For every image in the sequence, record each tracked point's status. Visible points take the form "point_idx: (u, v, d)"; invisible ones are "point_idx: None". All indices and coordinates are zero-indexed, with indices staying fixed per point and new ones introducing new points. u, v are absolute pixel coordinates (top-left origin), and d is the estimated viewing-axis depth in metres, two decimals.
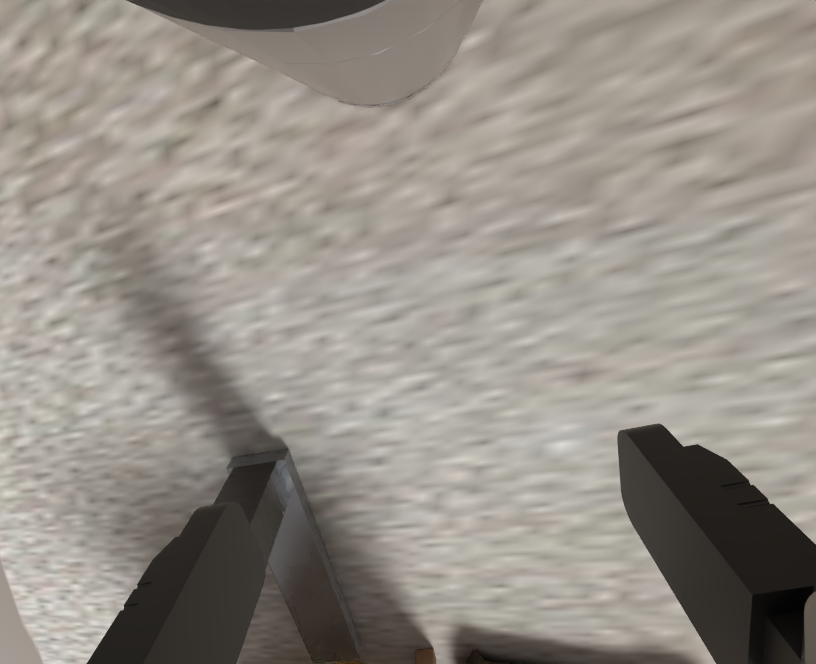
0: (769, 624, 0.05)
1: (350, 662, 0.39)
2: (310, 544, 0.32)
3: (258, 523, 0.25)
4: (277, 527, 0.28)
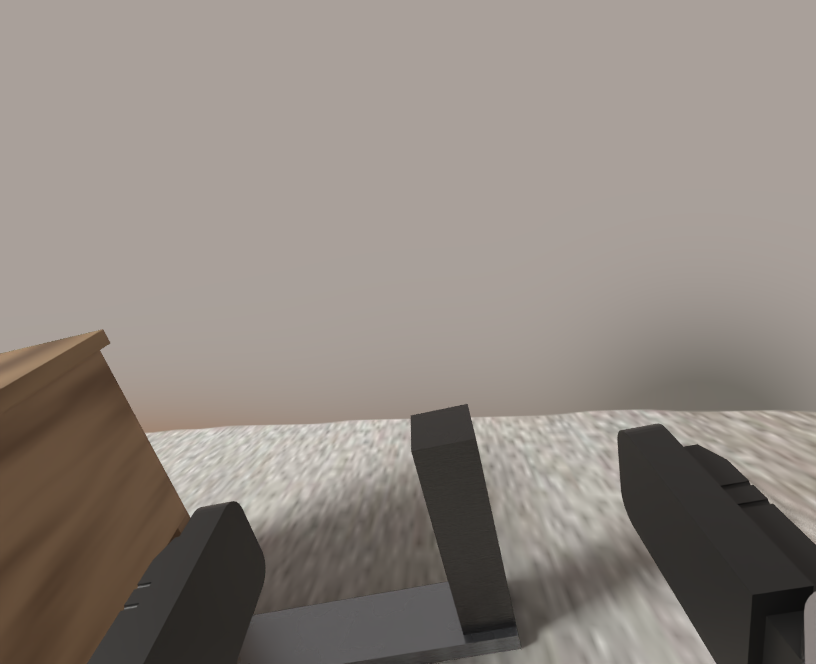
0: (769, 625, 0.05)
1: None
2: (383, 649, 0.26)
3: (490, 570, 0.23)
4: (457, 598, 0.24)
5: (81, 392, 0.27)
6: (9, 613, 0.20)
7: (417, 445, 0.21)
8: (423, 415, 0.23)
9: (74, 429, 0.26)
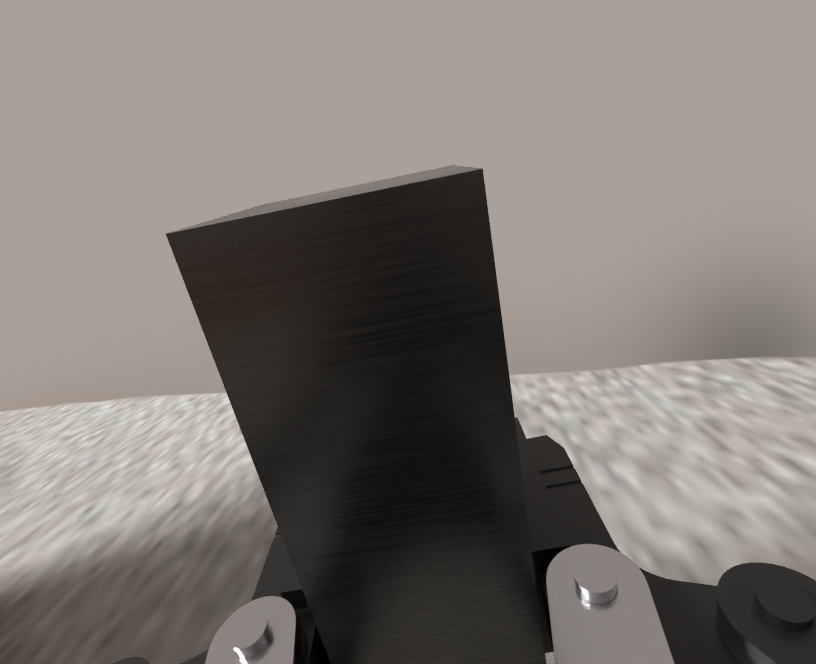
0: (542, 578, 0.07)
1: None
2: None
3: None
4: None
5: None
6: None
7: (211, 222, 0.05)
8: (300, 197, 0.07)
9: None
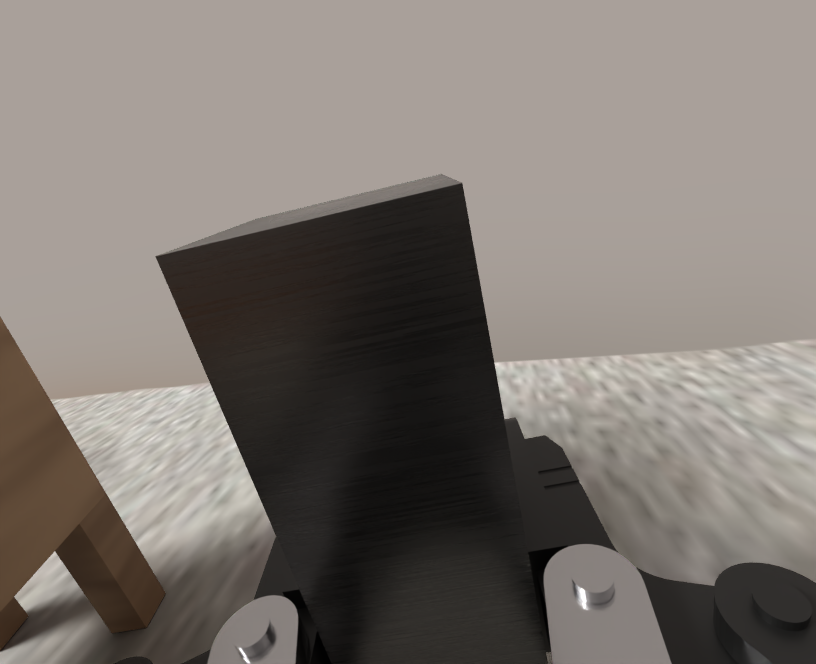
0: (540, 578, 0.07)
1: None
2: None
3: None
4: None
5: None
6: None
7: (201, 243, 0.05)
8: (292, 211, 0.07)
9: None
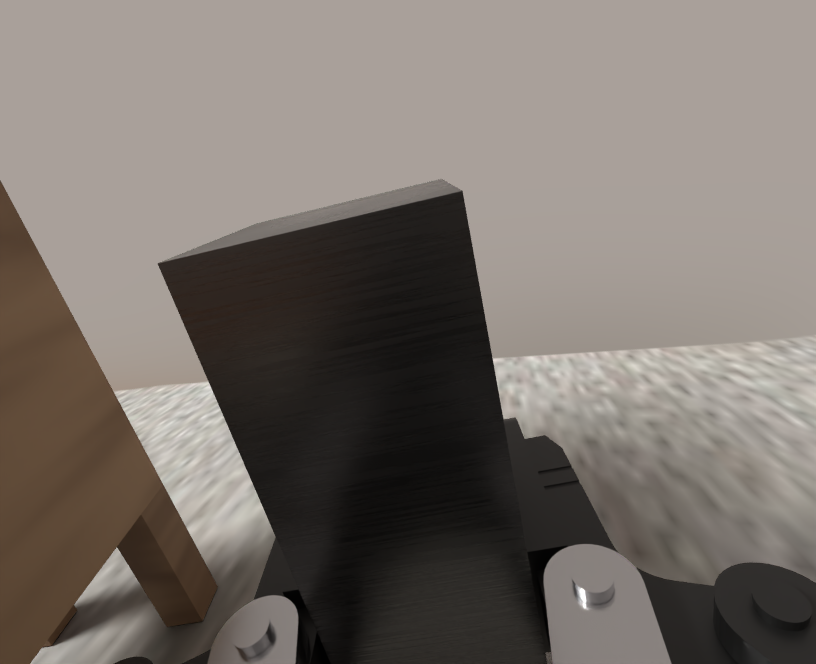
0: (539, 578, 0.07)
1: None
2: None
3: None
4: None
5: None
6: None
7: (203, 249, 0.05)
8: (292, 215, 0.07)
9: None
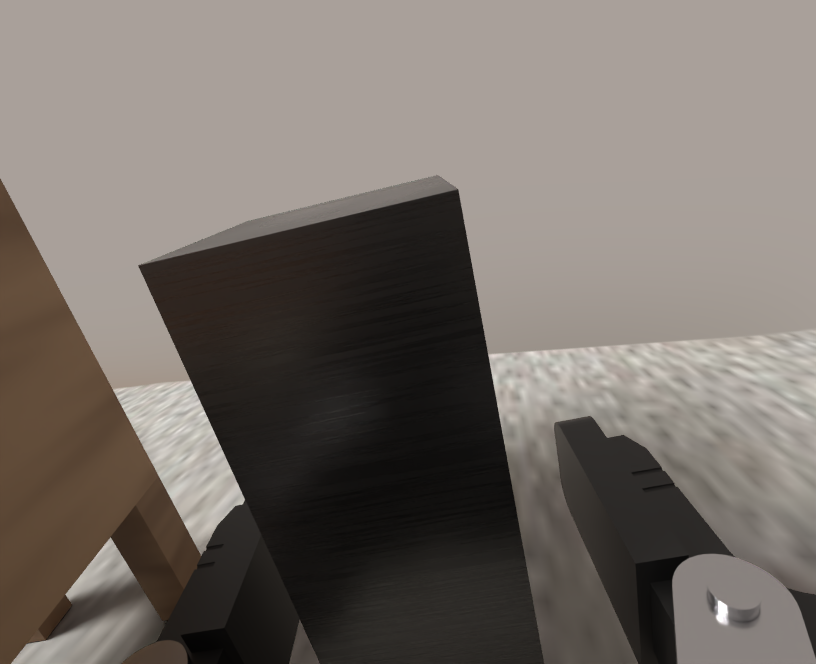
0: (653, 591, 0.06)
1: None
2: None
3: None
4: None
5: None
6: None
7: (185, 250, 0.04)
8: None
9: None
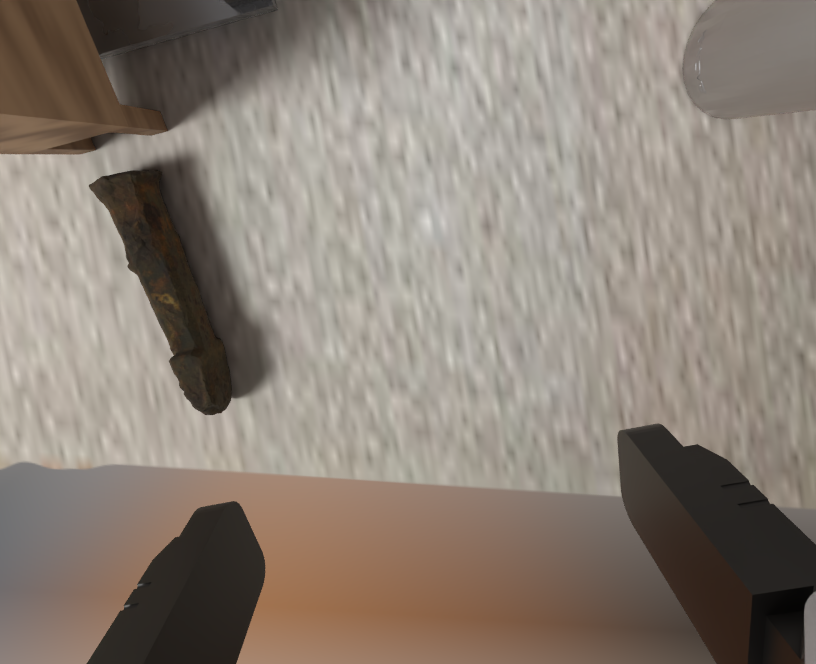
0: (769, 624, 0.05)
1: None
2: (174, 25, 0.34)
3: None
4: None
5: None
6: (36, 49, 0.25)
7: None
8: None
9: None
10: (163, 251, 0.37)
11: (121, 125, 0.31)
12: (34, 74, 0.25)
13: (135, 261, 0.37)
